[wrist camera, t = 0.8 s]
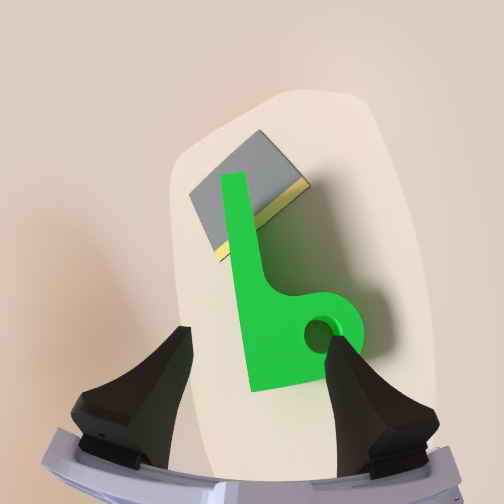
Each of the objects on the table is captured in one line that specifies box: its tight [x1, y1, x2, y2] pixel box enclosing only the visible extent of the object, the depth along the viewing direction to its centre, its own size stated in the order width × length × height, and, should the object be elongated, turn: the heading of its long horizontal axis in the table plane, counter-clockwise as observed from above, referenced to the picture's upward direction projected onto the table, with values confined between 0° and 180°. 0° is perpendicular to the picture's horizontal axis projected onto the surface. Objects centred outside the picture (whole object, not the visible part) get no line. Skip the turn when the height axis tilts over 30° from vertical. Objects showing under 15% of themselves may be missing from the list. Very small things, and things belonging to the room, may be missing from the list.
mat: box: [189, 130, 310, 262], centre depth 35 cm, size 13×14×1 cm
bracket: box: [220, 171, 364, 392], centre depth 26 cm, size 20×10×7 cm
